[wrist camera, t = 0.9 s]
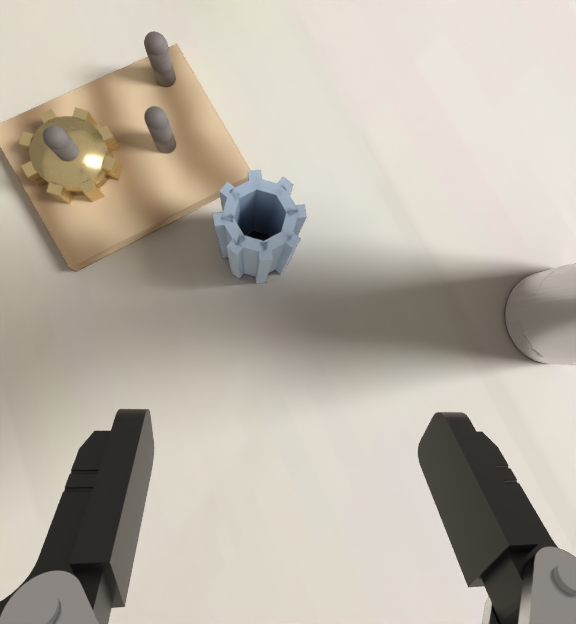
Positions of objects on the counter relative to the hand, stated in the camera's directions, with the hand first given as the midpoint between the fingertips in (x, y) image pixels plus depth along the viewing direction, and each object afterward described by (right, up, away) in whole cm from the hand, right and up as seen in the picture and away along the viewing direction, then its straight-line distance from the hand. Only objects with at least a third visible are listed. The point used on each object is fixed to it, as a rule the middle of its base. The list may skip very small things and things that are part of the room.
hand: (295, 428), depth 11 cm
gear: (-19, +16, +24) cm, 34 cm away
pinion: (-3, +9, +26) cm, 28 cm away
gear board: (-15, +17, +26) cm, 34 cm away
